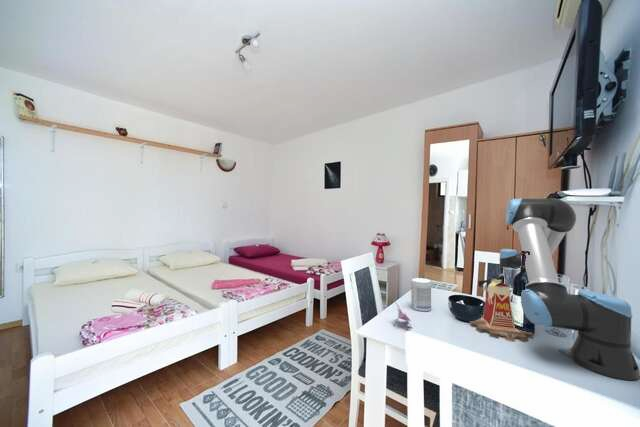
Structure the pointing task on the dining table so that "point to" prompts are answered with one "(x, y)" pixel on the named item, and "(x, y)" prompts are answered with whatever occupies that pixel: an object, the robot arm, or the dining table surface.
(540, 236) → the robot arm
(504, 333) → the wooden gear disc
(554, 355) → the dining table surface
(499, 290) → the milk carton
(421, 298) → the supplement tub
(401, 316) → the lily
